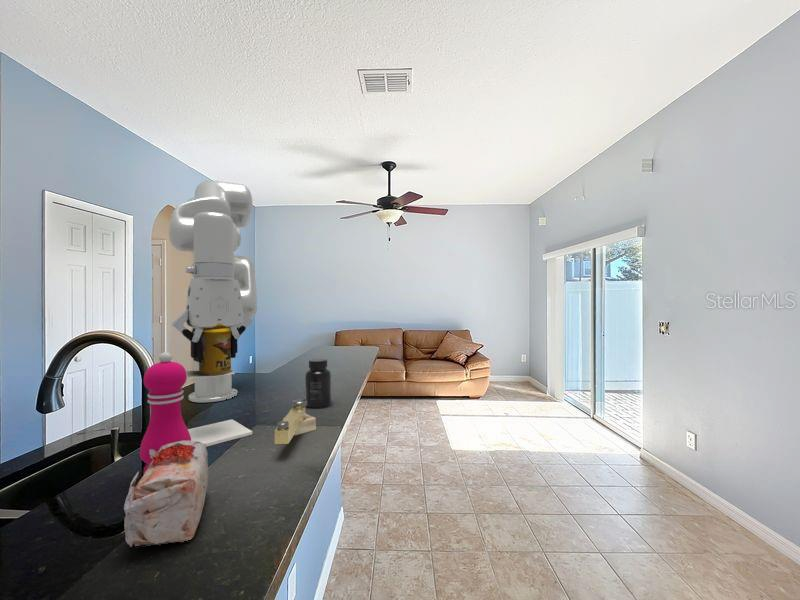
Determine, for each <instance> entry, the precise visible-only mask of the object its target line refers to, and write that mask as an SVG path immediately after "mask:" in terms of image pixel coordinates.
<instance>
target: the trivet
mask: <svg viewBox="0 0 800 600" xmlns="http://www.w3.org/2000/svg"><path fill="white" fill-rule="evenodd" d="M187 429H188V431H189V433H190V436H191V441H200V442H202V443H205V444H206V448H207V447H210V446H214V445H217V444H218V445H219V444H221V443H222V444H223V443H225V442H229V441H232V440H237V439H240V438H244V437H247V436H251V435H253V430H251V429H249V428H247V427H245V425H242V424H241V423H239V422H237V421H236V420H234V419H227V420H224V421H217V422H214V423H210V424H205V425H202V426H198V427H197V426H196V427H193V428H187Z"/></svg>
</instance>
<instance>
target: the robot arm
mask: <svg viewBox="0 0 800 600" xmlns="http://www.w3.org/2000/svg"><path fill="white" fill-rule="evenodd" d="M252 210H253V195H252V193H251V191H250V189H249V188H248V186H246V185H244V184H241V183H237V182H236V183H235V182H227V181H220V180H203V181H202V182H200V183H198V185H197V186H196V187H195V190H194V197H191V198H189V199H188V200H187V202H184V203H182V204H179V205H178V206H176V207H175V208H174V209H173V211H172V213H171V217H170V222H169V227H168V236H169V241H170V244H171V245H172V247H173V248H174V249H176V250H177V251H181V252H192V253H193V264H192V265H190V266H188V265H187V266H185V273H186V274H191V275H192V278H191V279H189V284H188V289H187V296H186V306H185V307H186V308H185V311H184V312H183V313H182V314H181V315H179V317H178V318H177V319H176V320H174V321H173V322H172V323H171V324H172V325H171V326H172V327H173V328H174V329H175V330H177V331H178V332H179V334H181V335H182V336H184V337H185V338H186V339H187V340H188V341H189V342H190V357H191V358H192V359H193V361H194V371H199V362H201V361H202V343H201V342H200V339H199V338H200V336H201V334H202V331H203V329H204V328H213V327H215V326H216V325H217V324H219V323H222V324H223V326H225V327H229V328H230V330H231V359H235V358H236V357H237V356H236V355H237V353H238V339H240V336H241V335H242V334H243V333H244V332H245V331H246V329H247V328H248V327H249V326H250V325H251V324H252V322H253V320H252V318H254V317H255V316H256V314H257V311H258V295H257V293H258V292H257V283H256V282H257V281H256V271H255V265H254V262H253V261H252V259H251V258H250V257H248V256H246V255H238V254H236V255H234V253H235V252H236V251H237V249H239V247H240V246H241V243H242V242H241V240H242V236H241V231H240V228H244V227H246V226H247V225H248V223H249V222H250V218H251V217H250V216H251V214H252ZM218 319H221V320H218ZM185 323H186V325H187V326H189V327H191V330H190V329H188V328H187V327H185V325H184V324H185ZM232 375H233V374H232ZM232 375H222V376H211V377H210V376H209V377H198V378H194V391H193V392H191V393H190V394H188V401H190V402H192V403H203V404H204V403H216V402H221V401H226V399H227V400H230V399H232V397H233V398H235V397H236V396H237V395H238V394H237V393H238V390H237V389H236V388H232V385H233V384H232V378H233V377H232ZM234 396H235V397H234Z"/></svg>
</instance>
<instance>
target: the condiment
mask: <svg viewBox="0 0 800 600" xmlns="http://www.w3.org/2000/svg"><path fill="white" fill-rule="evenodd" d="M218 320H221V319H218ZM199 339H200V342H201V343H202V361H201V362H199V371H195V370H186V374H187V379H195V378H198V377H209V376H210V377H211V376H222V375H235V374H236V373H235V372H234V371H233V370H232V358H231V330H230V328H229V327H225V326H223V324H222V323H219V324H217V325H216V326H215V327H213V328H204V329H203V331H202V334H201V336H200V338H199Z"/></svg>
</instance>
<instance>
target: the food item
mask: <svg viewBox="0 0 800 600" xmlns="http://www.w3.org/2000/svg"><path fill="white" fill-rule="evenodd" d="M151 450H152V451H151ZM149 454H150V455H151V456H150V458H152V462H151V463H150V465H149V467H148V468H147V470H146V471H145V473H144V472H143V476H142V477H141V478H140V479H139V471H137V472H136V474H135V475H134V476H133V478H132V481H131V482H130V484H129V485H130V486H129V489H128V494H127V496H126V498H125V501H124V505H123V510H124V513H125V517H124V520H123V521H124V522H123V523H124V524H123V526H124V533H125V537H124V538H125V542H126V543H127V545H129V547H130V548H132V547H133V545H134V546H135V547H136V546H139V545H141V544H143V545H144V544H153V543H154V544H159V543H165V542H180V543H185V542H184V541H187V542H189V541H188V540H191V539H192V538H193V539H194V537H195V534H196V531H197V528H198V525H199V524H200V521H201V517H202V513H203V509H204V506H205V505H204V504H205V500H206V494H207V490H208V485H209V459H208V458H209V456H208V454H209V453H208V450H207V447H206V444H205V443H202V442H200V441H178V442H174V443H169V444H166V445H164V446H162V447H161V448H160V449H159V451H154V449H150V452H149ZM152 456H153V457H152ZM137 479H139V481H138V482H137ZM193 539H192V540H193Z"/></svg>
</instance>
